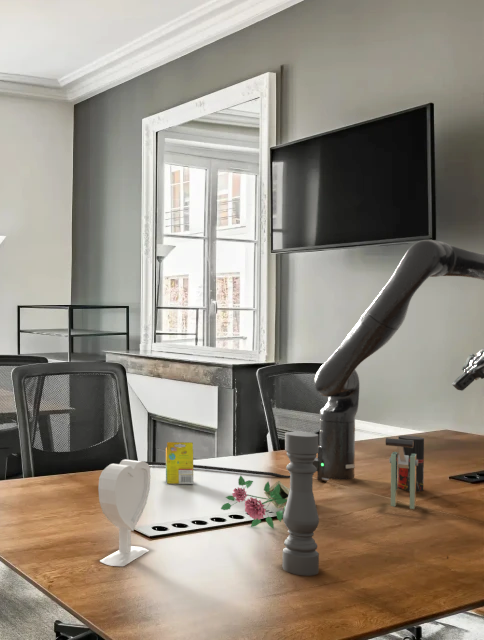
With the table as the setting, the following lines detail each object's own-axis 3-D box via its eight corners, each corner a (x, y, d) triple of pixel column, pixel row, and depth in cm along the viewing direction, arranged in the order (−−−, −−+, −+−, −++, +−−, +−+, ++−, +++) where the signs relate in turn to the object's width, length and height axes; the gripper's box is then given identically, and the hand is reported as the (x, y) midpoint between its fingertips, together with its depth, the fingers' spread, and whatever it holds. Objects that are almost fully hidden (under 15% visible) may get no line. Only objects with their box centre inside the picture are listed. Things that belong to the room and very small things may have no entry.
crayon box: (192, 482, 207) (192, 440, 207) (193, 484, 204) (194, 442, 204) (165, 481, 208) (165, 440, 208) (166, 483, 205) (166, 442, 205)
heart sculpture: (118, 569, 135) (119, 471, 135) (94, 563, 138) (94, 467, 138) (153, 548, 148) (154, 458, 148) (130, 543, 151) (131, 455, 151)
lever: (412, 447, 165) (413, 437, 166) (385, 445, 168) (385, 435, 169) (416, 469, 177) (417, 459, 178) (391, 466, 180) (391, 457, 181)
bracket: (423, 518, 171) (423, 459, 171) (379, 512, 176) (380, 455, 176) (426, 509, 180) (426, 452, 179) (384, 504, 184) (385, 449, 184)
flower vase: (314, 542, 177) (263, 543, 150) (267, 518, 185) (210, 514, 158) (333, 497, 176) (286, 490, 150) (285, 474, 184) (232, 464, 158)
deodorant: (426, 497, 192) (427, 439, 192) (401, 496, 193) (402, 438, 193) (418, 492, 198) (419, 436, 198) (394, 490, 199) (395, 435, 199)
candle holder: (276, 564, 139) (277, 431, 138) (308, 563, 139) (309, 431, 139) (292, 575, 132) (293, 436, 132) (325, 575, 133) (326, 436, 133)
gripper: (488, 321, 171) (431, 373, 173) (519, 322, 158) (457, 378, 160) (512, 344, 171) (455, 396, 173) (546, 347, 158) (483, 403, 159)
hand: (456, 387), depth 166 cm, fingers closed
